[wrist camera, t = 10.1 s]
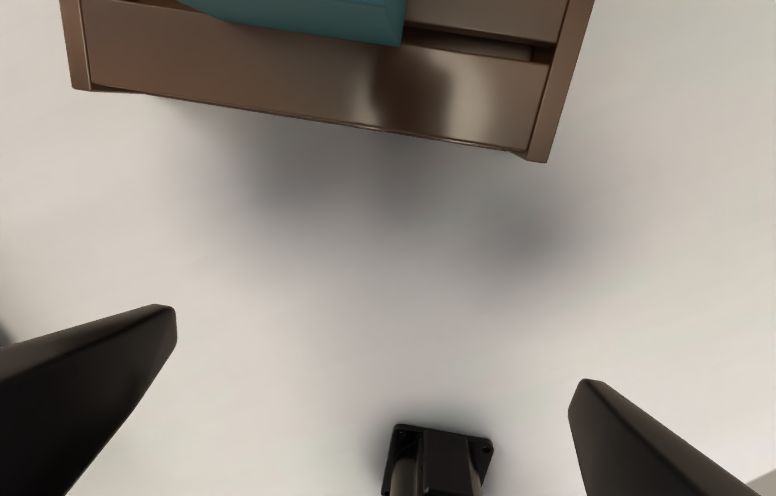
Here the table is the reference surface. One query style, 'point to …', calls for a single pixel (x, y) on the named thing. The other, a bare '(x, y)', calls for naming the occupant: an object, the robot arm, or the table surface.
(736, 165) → the table surface
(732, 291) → the table surface
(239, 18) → the tissue box
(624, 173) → the table surface
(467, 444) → the robot arm
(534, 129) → the rack
